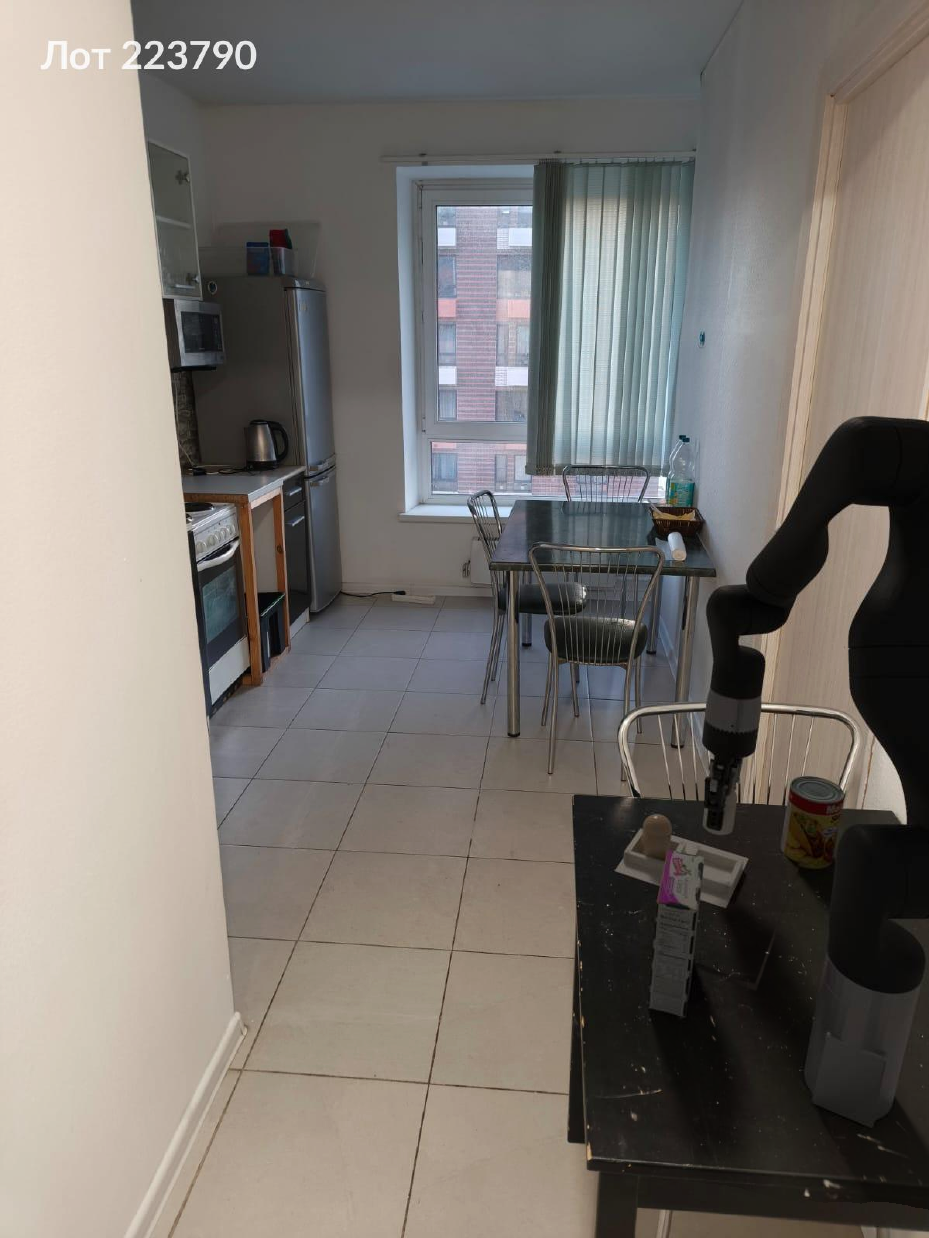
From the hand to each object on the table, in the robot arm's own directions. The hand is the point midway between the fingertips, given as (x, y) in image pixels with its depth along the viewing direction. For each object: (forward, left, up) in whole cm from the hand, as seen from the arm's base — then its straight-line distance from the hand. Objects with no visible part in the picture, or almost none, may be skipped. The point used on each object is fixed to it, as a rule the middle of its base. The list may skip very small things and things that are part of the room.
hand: (718, 819), depth 129 cm
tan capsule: (0, +9, -9) cm, 13 cm away
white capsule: (0, 0, -1) cm, 1 cm away
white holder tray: (0, +4, -10) cm, 11 cm away
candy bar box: (-25, -2, -10) cm, 27 cm away
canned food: (+14, -12, -10) cm, 21 cm away
